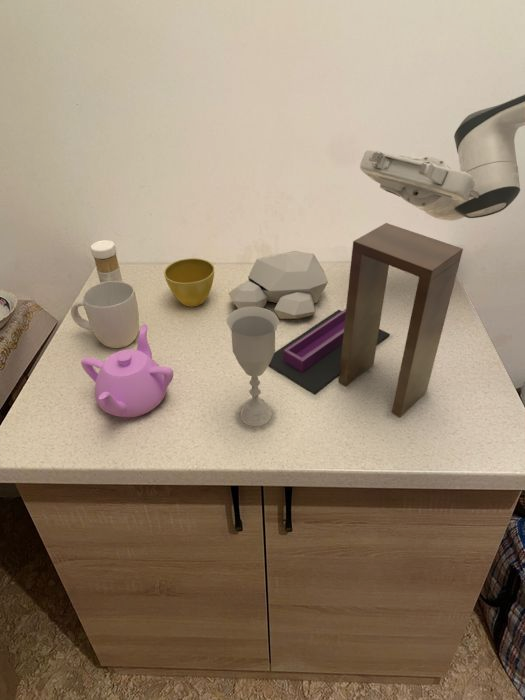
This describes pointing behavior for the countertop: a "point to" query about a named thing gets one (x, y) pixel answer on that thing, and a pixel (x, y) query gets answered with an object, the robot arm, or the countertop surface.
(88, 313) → the mug
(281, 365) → the charcoal mat
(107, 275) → the sprinkles bottle
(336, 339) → the plum dish
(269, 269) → the rock
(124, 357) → the teapot
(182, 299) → the mustard yellow bowl
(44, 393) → the countertop surface
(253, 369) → the chalice
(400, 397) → the walnut stand
